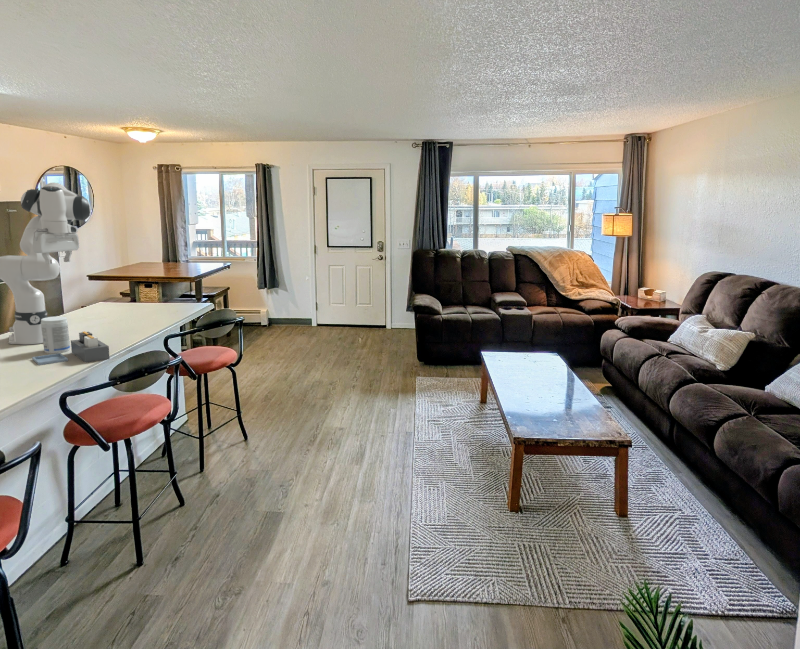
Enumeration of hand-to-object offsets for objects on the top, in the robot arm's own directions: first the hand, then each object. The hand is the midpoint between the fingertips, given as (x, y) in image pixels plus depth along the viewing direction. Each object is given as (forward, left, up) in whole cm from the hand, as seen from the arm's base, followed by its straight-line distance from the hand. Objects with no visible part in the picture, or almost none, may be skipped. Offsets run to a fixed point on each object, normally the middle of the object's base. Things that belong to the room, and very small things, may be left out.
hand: (58, 263), depth 216 cm
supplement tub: (-9, -1, -39) cm, 40 cm away
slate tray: (+5, -7, -39) cm, 40 cm away
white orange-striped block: (+12, +6, -38) cm, 40 cm away
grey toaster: (+7, +7, -39) cm, 40 cm away
